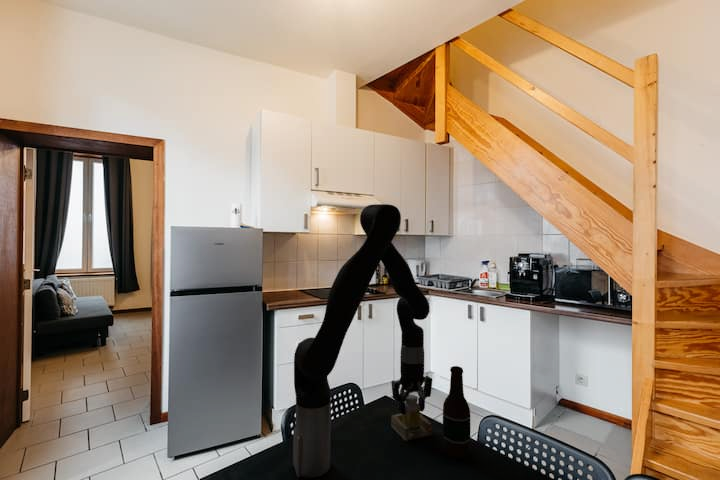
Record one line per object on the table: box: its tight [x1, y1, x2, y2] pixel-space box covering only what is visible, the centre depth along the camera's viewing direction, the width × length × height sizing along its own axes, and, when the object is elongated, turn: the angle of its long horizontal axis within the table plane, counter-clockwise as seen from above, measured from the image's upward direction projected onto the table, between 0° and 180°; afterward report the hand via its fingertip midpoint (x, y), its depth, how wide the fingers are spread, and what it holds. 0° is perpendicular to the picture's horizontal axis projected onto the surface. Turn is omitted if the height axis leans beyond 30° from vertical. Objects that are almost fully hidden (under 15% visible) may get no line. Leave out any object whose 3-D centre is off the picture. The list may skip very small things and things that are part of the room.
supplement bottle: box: [403, 394, 421, 432], centre depth 111 cm, size 5×5×10 cm
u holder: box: [390, 413, 433, 442], centre depth 112 cm, size 9×9×4 cm
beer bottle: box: [442, 365, 471, 460], centre depth 100 cm, size 8×8×24 cm
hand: (411, 411), depth 111 cm, fingers open, 6 cm apart
